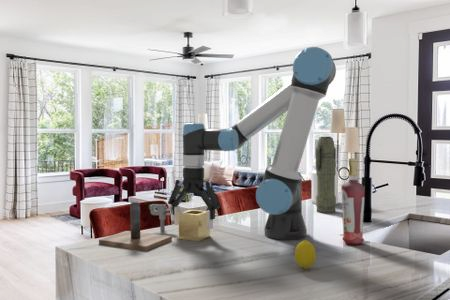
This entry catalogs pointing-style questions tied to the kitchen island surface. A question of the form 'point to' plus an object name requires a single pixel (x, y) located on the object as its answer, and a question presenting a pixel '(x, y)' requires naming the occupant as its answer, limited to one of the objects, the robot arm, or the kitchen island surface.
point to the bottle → (314, 183)
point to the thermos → (326, 175)
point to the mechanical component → (161, 213)
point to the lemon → (305, 254)
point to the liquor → (353, 207)
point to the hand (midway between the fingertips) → (193, 226)
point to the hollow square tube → (193, 225)
